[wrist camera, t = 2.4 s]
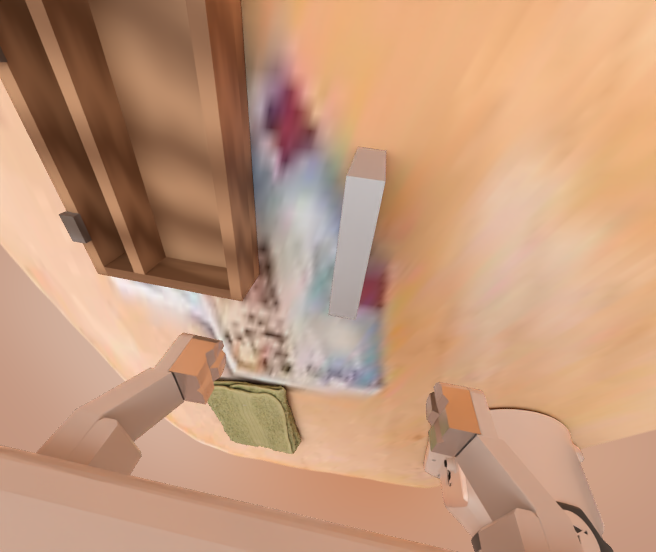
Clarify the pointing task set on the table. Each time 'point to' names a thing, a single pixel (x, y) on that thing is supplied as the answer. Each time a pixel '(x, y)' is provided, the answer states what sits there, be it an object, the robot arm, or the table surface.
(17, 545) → the robot arm
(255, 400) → the washcloth
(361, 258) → the rectangular block
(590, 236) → the table surface
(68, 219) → the wooden tray
